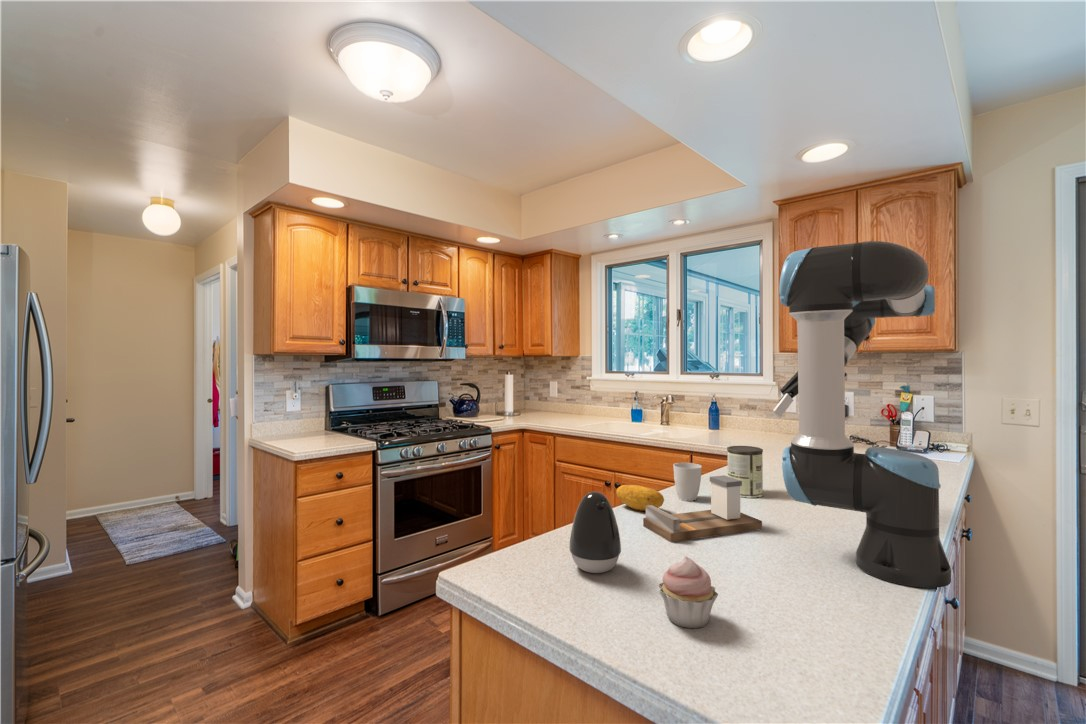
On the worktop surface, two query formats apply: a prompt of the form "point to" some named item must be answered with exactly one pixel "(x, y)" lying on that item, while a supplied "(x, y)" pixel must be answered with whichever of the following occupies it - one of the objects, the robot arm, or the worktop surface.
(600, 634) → the worktop surface
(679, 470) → the cup
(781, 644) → the worktop surface
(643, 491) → the potato
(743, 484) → the coffee can
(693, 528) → the board
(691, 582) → the cupcake
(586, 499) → the dark egg-shaped tumbler
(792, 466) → the robot arm
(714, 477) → the fader tab
